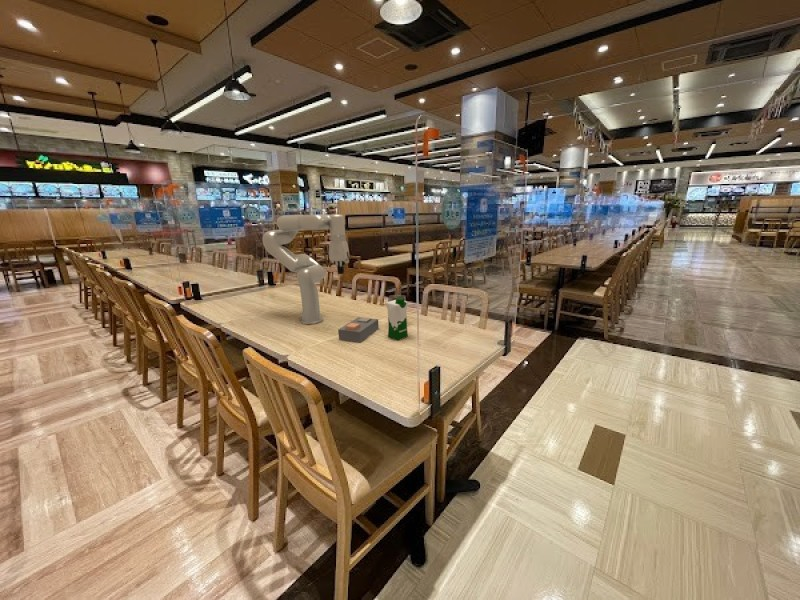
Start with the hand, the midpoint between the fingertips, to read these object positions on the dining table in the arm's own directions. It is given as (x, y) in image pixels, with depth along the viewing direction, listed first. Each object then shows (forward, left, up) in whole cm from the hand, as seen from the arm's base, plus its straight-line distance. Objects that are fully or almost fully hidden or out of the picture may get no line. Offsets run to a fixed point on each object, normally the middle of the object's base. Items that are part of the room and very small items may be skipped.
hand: (340, 273), depth 170 cm
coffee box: (+28, +10, -29) cm, 42 cm away
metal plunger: (+15, -4, -28) cm, 32 cm away
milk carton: (+35, -7, -29) cm, 46 cm away
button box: (+15, -10, -29) cm, 34 cm away
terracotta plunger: (+15, -16, -27) cm, 35 cm away
